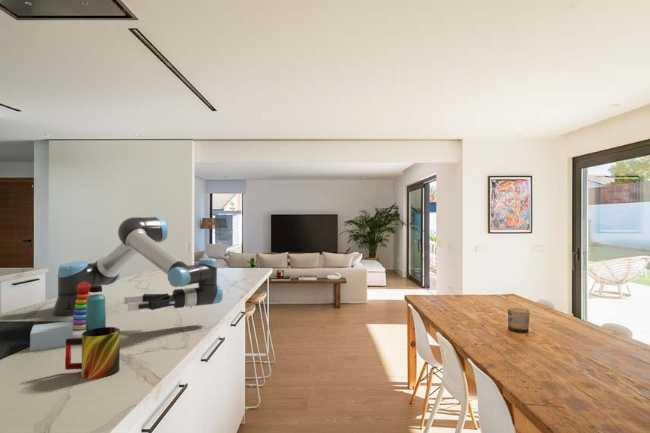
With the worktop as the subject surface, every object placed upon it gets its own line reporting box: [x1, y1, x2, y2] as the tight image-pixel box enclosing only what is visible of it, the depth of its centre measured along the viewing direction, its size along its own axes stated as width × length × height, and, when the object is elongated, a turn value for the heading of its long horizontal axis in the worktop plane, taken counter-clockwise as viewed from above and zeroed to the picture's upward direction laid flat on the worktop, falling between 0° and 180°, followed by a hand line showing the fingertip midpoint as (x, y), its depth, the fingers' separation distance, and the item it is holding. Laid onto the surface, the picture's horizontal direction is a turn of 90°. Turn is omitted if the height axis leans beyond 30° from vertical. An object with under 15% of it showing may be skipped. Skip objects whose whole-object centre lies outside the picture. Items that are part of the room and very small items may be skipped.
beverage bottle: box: [85, 285, 107, 331], centre depth 145 cm, size 6×7×20 cm
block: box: [29, 320, 74, 352], centre depth 141 cm, size 12×12×6 cm
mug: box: [64, 326, 121, 380], centre depth 114 cm, size 10×14×12 cm
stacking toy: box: [71, 282, 92, 331], centre depth 161 cm, size 8×8×19 cm
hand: (126, 303), depth 150 cm, fingers open, 13 cm apart
